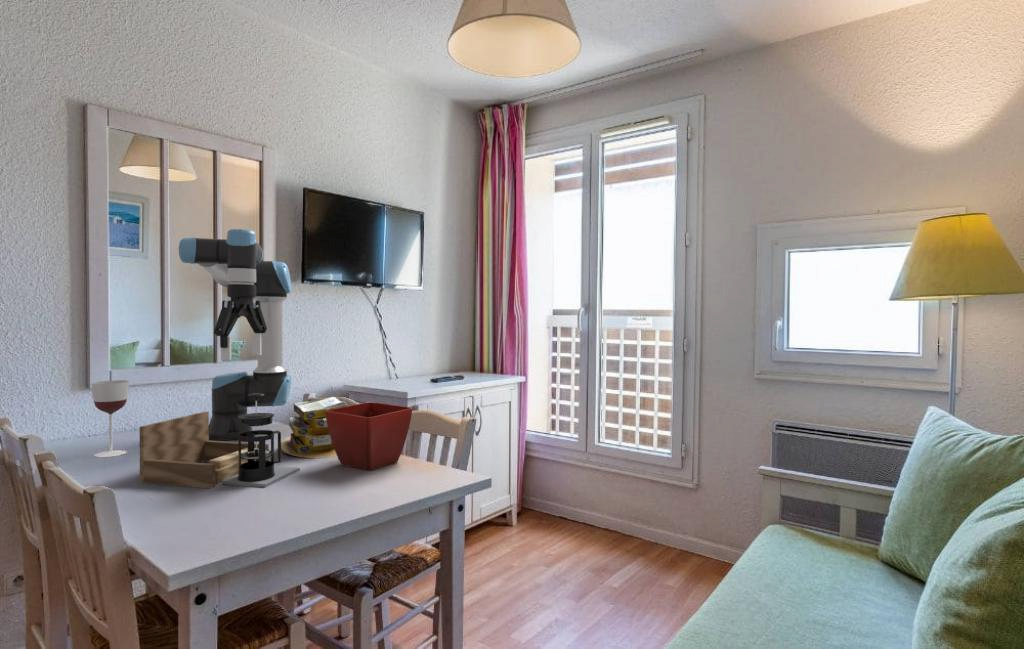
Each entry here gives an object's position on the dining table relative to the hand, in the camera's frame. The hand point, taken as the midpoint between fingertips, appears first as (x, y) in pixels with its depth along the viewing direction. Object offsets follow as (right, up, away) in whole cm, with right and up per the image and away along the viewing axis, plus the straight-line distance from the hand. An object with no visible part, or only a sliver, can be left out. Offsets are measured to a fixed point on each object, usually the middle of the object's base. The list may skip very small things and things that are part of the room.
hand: (242, 357), depth 162 cm
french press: (+8, -33, -8) cm, 34 cm away
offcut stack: (-1, -33, -4) cm, 34 cm away
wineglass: (-51, -32, +18) cm, 63 cm away
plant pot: (+34, -33, +10) cm, 49 cm away
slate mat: (+8, -33, -6) cm, 35 cm away
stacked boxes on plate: (+13, -33, +27) cm, 45 cm away
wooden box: (-9, -33, -2) cm, 34 cm away
